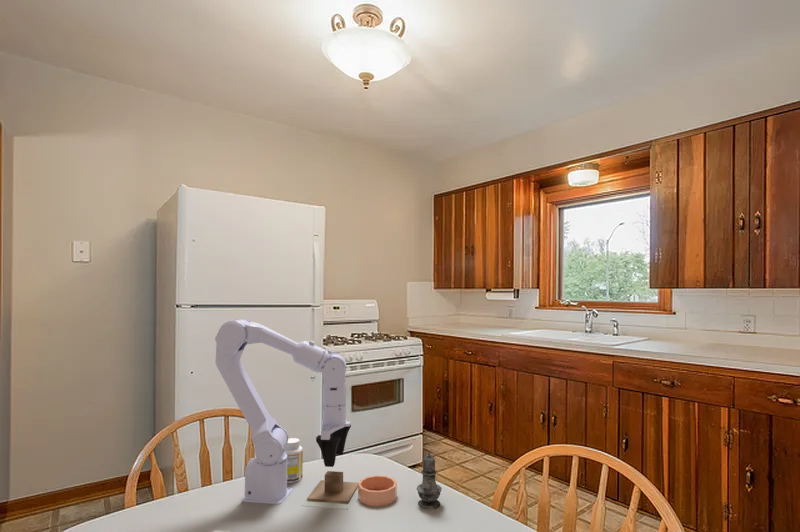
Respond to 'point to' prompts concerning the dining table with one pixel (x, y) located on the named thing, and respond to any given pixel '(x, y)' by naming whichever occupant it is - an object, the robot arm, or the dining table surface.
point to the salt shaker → (429, 485)
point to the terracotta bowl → (377, 490)
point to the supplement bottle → (294, 460)
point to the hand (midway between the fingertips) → (334, 460)
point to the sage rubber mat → (329, 503)
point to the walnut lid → (333, 489)
